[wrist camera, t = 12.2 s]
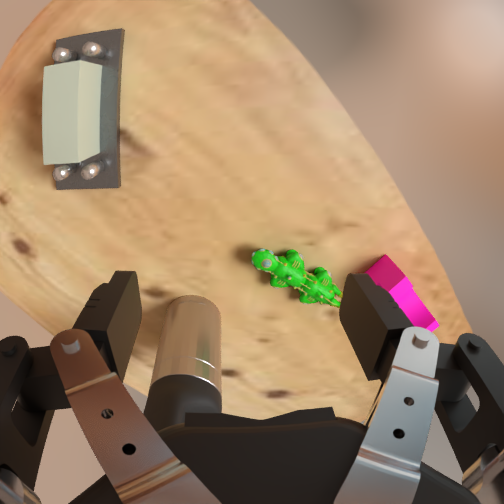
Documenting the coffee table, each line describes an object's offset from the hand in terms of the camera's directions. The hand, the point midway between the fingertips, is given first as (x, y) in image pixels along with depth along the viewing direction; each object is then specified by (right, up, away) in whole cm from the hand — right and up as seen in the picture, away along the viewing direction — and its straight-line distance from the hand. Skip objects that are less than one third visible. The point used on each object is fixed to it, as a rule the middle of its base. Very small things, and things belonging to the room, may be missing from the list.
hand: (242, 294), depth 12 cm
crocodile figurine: (+8, -2, +38) cm, 39 cm away
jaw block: (-22, +20, +23) cm, 38 cm away
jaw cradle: (-22, +21, +24) cm, 39 cm away
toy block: (+25, -5, +41) cm, 49 cm away
